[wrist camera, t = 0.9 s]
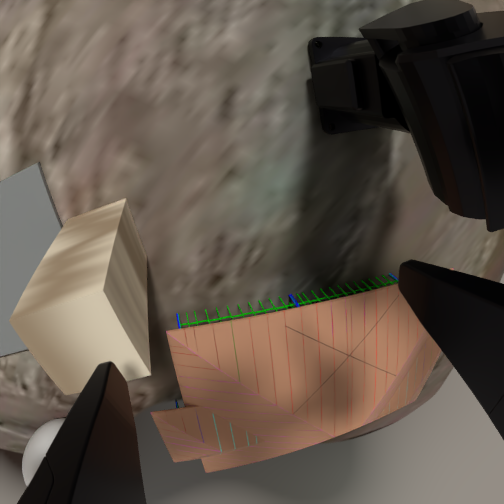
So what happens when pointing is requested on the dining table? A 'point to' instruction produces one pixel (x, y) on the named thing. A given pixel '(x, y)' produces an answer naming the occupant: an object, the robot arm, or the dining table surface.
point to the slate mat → (22, 242)
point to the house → (293, 375)
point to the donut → (39, 447)
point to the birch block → (89, 300)
